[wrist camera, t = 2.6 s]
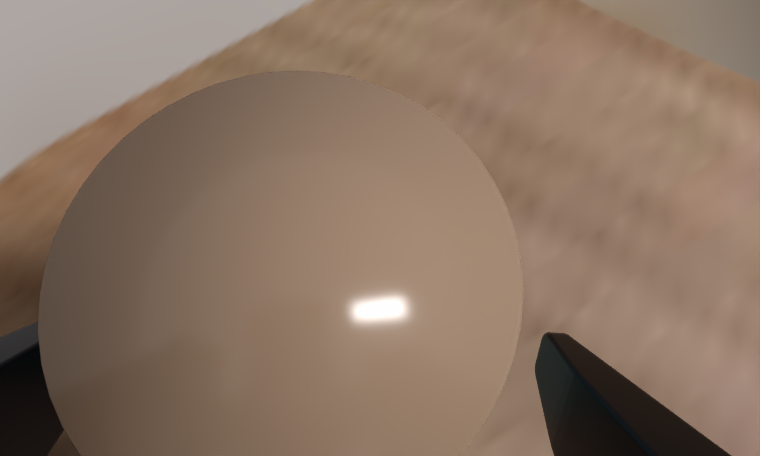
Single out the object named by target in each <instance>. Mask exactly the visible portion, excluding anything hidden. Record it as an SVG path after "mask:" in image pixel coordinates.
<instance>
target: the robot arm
mask: <svg viewBox="0 0 760 456" xmlns="http://www.w3.org/2000/svg"><path fill="white" fill-rule="evenodd" d="M535 375H536V380H537V384H538V389H539V394H540V398H541V403H542V407H543V412H544V416H545V421H546V426H547V430H548V435H549V439H550V443H551V447H552V450H553V453H554V456H731V455H730V454H728V453H727V452H726V451H724V450H723V449H722V448H720V447H719V446H718V445H716V444H715V443H714V442H712V441H711V440H709V439H708V438H707V437H705V436H704V435H703V434H701V433H700V432H699V431H697V430H696V429H695V428H693V427H692V426H691V425H689V424H688V423H686V422H685V421H684V420H682V419H681V418H680V417H678V416H677V415H676V414H674V413H673V412H672V411H670V410H669V409H668V408H666V407H665V406H664V405H662V404H661V403H659V402H658V401H657V400H655V399H654V398H653V397H651V396H650V395H649V394H647V393H646V392H645V391H643V390H642V389H641V388H639V387H638V386H636V385H635V384H634V383H632V382H631V381H630V380H628V379H627V378H626V377H624V376H623V375H622V374H620V373H619V372H618V371H616V370H615V369H613V368H612V367H611V366H609V365H608V364H607V363H605V362H604V361H603V360H601V359H600V358H599V357H597V356H596V355H595V354H593V353H592V352H590V351H589V350H588V349H586V348H585V347H584V346H582V345H581V344H580V343H578V342H577V341H576V340H574V339H573V338H572V337H570V336H569V335H567V334H565V333H553V332H547V333H545V334H544V335H543V337H542V340H541V344H540V348H539V352H538V356H537V360H536V364H535ZM63 430H64V428H63V427H62V424H61V422H60V420H59V417H58V415H57V413H56V410H55V408H54V405H53V403H52V401H51V398H50V396H49V392H48V388H47V384H46V380H45V376H44V373H43V369H42V365H41V356H40V346H39V337H38V322H36V323H33V324H31V325H29V326H26V327H24V328H22V329H19V330H17V331H15V332H12V333H10V334H8V335H5V336H3V337H0V456H47V455H48V454H49V452H50V451H51V449H52V447H53V446H54V444H55V443H56V441H57V440H58V438H59V437H60V435H61V434H62V432H63Z"/></svg>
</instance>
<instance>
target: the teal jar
mask: <svg viewBox="0 0 760 456" xmlns="http://www.w3.org/2000/svg"><path fill="white" fill-rule="evenodd" d="M522 305H523V279H522V263H521V258H520V253H519V247H518V242H517V237H516V233H515V230H514V227H513V224H512V221H511V218H510V215H509V212H508V209H507V206H506V204H505V202H504V200H503V198H502V196H501V194H500V192H499V190H498V188H497V186H496V184H495V182H494V180H493V179H492V177H491V176H490V174H489V173H488V171H487V170H486V168H485V167H484V165H483V164H482V162H481V161H480V159H479V158H478V157H477V156H476V154H475V153H474V152H473V151H472V150H471V149H470V147H469V146H468V145H467V144H466V143H465V142H464V140H463V139H462V138H461V137H460V136H459V135H457V134H456V133H455V132H454V131H453V130H452V129H451V128H450V127H449V126H448V125H447V124H445V123H444V122H443V121H442V120H441V119H439V118H438V117H436V116H435V115H434V114H432V113H431V112H429V111H428V110H427V109H425V108H424V107H422V106H421V105H419V104H417V103H415V102H414V101H412V100H410V99H408V98H406V97H405V96H403V95H401V94H399V93H397V92H394V91H392V90H389V89H387V88H385V87H382V86H380V85H377V84H375V83H371V82H368V81H364V80H361V79H357V78H353V77H350V76H344V75H338V74H332V73H326V72H312V71H282V72H268V73H262V74H256V75H249V76H244V77H240V78H236V79H233V80H229V81H225V82H221V83H218V84H215V85H213V86H210V87H207V88H205V89H202V90H200V91H197V92H195V93H192V94H190V95H188V96H186V97H184V98H182V99H180V100H178V101H176V102H174V103H173V104H171V105H169V106H167V107H165V108H164V109H162V110H161V111H159V112H158V113H156V114H155V115H153V116H152V117H150V118H149V119H147V120H145V121H144V122H143V123H141V124H140V125H139V126H138V127H137V128H135V129H134V130H133V131H132V132H130V133H129V134H128V135H127V136H126V137H124V138H123V139H122V140H121V141H120V142H119V143H118V144H117V145H116V146H115V147H114V148H113V149H112V150H111V151H110V152H109V153H108V154H107V155H106V156H105V157H104V158H103V159H102V160H101V161H100V163H99V164H98V165H97V166H96V168H95V169H94V170H93V172H92V173H91V174H90V175H89V177H88V178H87V179H86V181H85V182H84V183H83V184H82V186H81V188H80V189H79V191H78V193H77V194H76V196H75V198H74V199H73V201H72V203H71V204H70V206H69V207H68V209H67V211H66V213H65V215H64V217H63V220H62V222H61V224H60V226H59V228H58V231H57V233H56V235H55V237H54V240H53V243H52V246H51V250H50V253H49V256H48V259H47V262H46V266H45V269H44V275H43V281H42V286H41V292H40V298H39V318H38V337H39V346H40V356H41V365H42V369H43V373H44V376H45V380H46V384H47V388H48V392H49V396H50V398H51V401H52V403H53V405H54V408H55V410H56V413H57V415H58V417H59V420H60V422H61V424H62V427H63V428H64V430H65V432H66V433H67V435H68V436H69V438H70V440H71V441H72V443H73V444H74V446H75V448H76V449H77V451H78V452H79V454H80V456H460V455H461V453H462V452H463V451H464V450H465V449H466V448H467V447H468V446H469V444H470V443H471V441H472V440H473V438H474V437H475V435H476V434H477V433H478V431H479V430H480V428H481V427H482V425H483V424H484V423H485V421H486V420H487V418H488V416H489V415H490V413H491V411H492V409H493V407H494V405H495V403H496V401H497V399H498V397H499V395H500V393H501V391H502V389H503V387H504V384H505V382H506V379H507V376H508V373H509V370H510V367H511V365H512V362H513V359H514V356H515V351H516V347H517V342H518V337H519V332H520V327H521V319H522Z"/></svg>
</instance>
